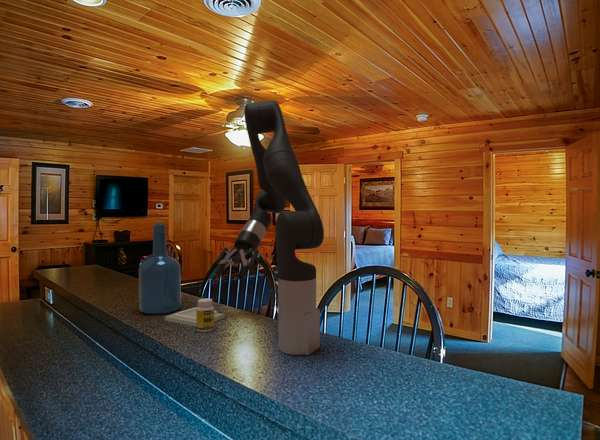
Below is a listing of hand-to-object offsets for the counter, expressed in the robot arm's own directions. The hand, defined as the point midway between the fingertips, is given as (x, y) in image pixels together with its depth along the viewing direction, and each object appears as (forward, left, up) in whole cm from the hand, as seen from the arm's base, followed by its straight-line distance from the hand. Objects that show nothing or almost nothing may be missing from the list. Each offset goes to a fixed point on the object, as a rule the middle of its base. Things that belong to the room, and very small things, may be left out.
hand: (227, 277), depth 117 cm
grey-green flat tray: (+10, +4, -13) cm, 17 cm away
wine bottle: (+28, +2, -13) cm, 31 cm away
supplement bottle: (0, +10, -13) cm, 17 cm away
